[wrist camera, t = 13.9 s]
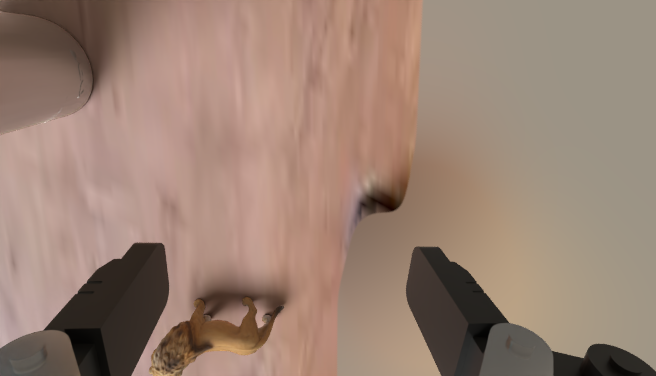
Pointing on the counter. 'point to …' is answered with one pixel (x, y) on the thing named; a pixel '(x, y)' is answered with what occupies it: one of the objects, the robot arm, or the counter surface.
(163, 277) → the robot arm
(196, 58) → the counter surface
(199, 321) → the lion figurine
